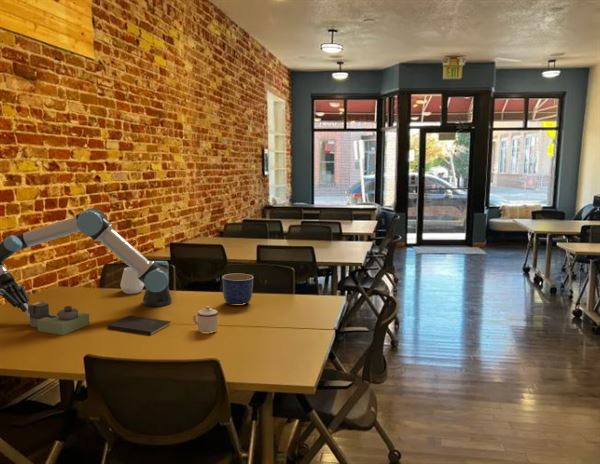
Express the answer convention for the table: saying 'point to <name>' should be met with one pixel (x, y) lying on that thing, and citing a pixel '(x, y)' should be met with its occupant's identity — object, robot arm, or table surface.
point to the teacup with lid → (206, 319)
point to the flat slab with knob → (61, 321)
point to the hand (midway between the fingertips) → (31, 315)
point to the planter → (237, 288)
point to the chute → (38, 310)
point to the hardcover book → (138, 325)
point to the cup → (131, 282)
